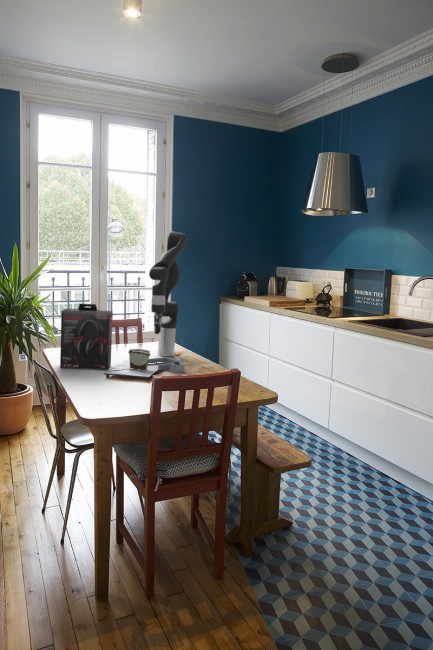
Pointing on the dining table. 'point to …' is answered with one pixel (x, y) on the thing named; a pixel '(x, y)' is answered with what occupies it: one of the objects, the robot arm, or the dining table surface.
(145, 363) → the food container
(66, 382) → the dining table surface
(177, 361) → the pin
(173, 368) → the frame
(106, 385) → the dining table surface
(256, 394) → the dining table surface
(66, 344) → the headset box
